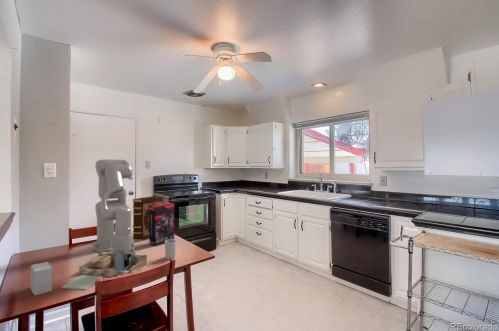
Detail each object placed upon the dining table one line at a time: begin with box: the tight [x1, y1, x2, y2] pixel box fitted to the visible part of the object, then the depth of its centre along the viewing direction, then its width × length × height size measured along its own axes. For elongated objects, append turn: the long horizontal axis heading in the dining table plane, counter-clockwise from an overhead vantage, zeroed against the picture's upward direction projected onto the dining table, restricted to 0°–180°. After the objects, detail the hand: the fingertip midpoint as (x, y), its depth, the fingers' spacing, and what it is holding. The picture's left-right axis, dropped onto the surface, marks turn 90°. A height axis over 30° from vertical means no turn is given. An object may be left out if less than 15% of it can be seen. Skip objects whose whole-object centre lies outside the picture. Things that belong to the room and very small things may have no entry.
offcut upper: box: [91, 255, 111, 267], centre depth 136 cm, size 6×8×3 cm
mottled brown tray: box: [78, 251, 148, 277], centre depth 135 cm, size 28×15×6 cm, turn 83°
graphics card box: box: [149, 202, 175, 247], centre depth 181 cm, size 17×7×27 cm, turn 147°
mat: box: [61, 274, 105, 291], centre depth 121 cm, size 12×12×1 cm
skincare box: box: [29, 261, 53, 296], centre depth 114 cm, size 10×6×10 cm, turn 48°
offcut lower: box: [89, 261, 114, 270], centre depth 136 cm, size 7×9×3 cm
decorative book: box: [132, 195, 164, 242], centre depth 193 cm, size 22×8×30 cm, turn 148°
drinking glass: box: [164, 238, 177, 260], centre depth 153 cm, size 7×7×10 cm
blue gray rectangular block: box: [114, 251, 132, 271], centre depth 135 cm, size 3×9×11 cm, turn 173°
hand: (123, 265), depth 135 cm, fingers closed on blue gray rectangular block, 3 cm apart
